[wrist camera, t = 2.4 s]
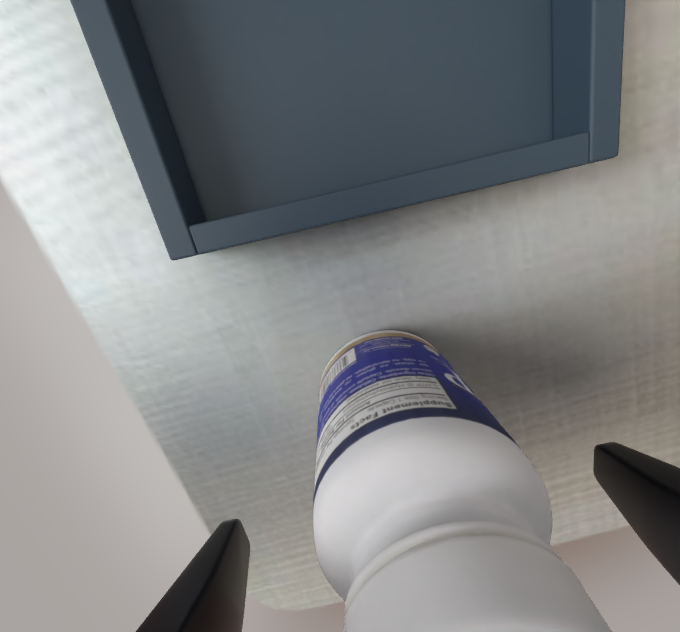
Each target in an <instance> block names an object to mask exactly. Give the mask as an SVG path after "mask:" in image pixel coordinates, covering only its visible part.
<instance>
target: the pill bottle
mask: <svg viewBox="0 0 680 632" xmlns="http://www.w3.org/2000/svg"><path fill="white" fill-rule="evenodd" d="M551 532H552V511H551V505H550V499H549V496H548V493H547V490H546V488H545V485H544V483H543V481H542V479H541V477H540V475H539V473H538V472H537V470H536V468H535V467H534V465H533V464H532V463H531V461H530V460H529V459H528V457H527V456H526V455H525V454H524V452H523V451H522V450H521V449H520V447H519V446H518V445H517V444H516V442H515V441H514V440H513V439H512V437H511V436H510V435H509V434H508V433H507V432H506V431H505V429H504V428H503V427H502V426H501V425H500V424H499V422H498V421H497V420H496V419H495V418H494V417H493V415H492V414H491V413H490V412H489V411H488V409H487V408H486V407H485V406H484V405H483V403H482V402H481V401H480V400H479V399H478V398H477V397H476V395H475V394H474V393H473V392H472V390H471V389H470V388H469V387H468V386H467V385H466V383H465V382H464V381H463V380H462V378H461V377H460V376H459V375H458V374H457V373H456V371H455V370H454V369H453V368H452V367H451V366H450V364H449V363H448V362H447V361H446V360H445V358H444V357H443V356H442V355H441V354H440V353H439V352H438V350H437V349H436V348H435V347H433V346H432V345H431V344H430V343H428V342H427V341H425V340H424V339H422V338H420V337H418V336H416V335H413V334H410V333H407V332H403V331H396V330H383V331H376V332H371V333H367V334H364V335H361V336H359V337H357V338H355V339H353V340H351V341H350V342H348V343H347V344H345V345H344V346H343V347H342V348H340V349H339V350H338V351H337V352H336V353H335V355H334V356H333V357H332V358H331V360H330V361H329V363H328V364H327V366H326V368H325V370H324V372H323V375H322V378H321V382H320V388H319V405H318V432H317V453H316V468H315V484H314V498H313V534H314V543H315V549H316V554H317V557H318V560H319V563H320V566H321V568H322V571H323V573H324V574H325V576H326V578H327V580H328V582H329V583H330V584H331V586H332V587H333V589H334V590H335V591H336V592H337V593H338V595H339V596H340V597H341V598H342V599H343V600H344V601H346V604H345V623H344V632H612V631H611V630H610V628H609V627H608V625H607V623H606V622H605V620H604V619H603V617H602V616H601V614H600V613H599V611H598V609H597V608H596V607H595V605H594V603H593V602H592V600H591V599H590V597H589V596H588V594H587V593H586V591H585V589H584V588H583V586H582V584H581V582H580V581H579V579H578V578H577V576H576V575H575V573H574V572H573V571H572V570H571V569H570V568H569V567H568V566H567V565H566V564H565V563H564V562H563V560H562V559H561V557H560V556H559V555H558V554H557V552H556V551H555V550H554V549H553V548H552V547H551V546H550V545H549V544H550V539H551Z"/></svg>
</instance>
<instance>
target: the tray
mask: <svg viewBox="0 0 680 632" xmlns="http://www.w3.org/2000/svg"><path fill="white" fill-rule="evenodd" d="M71 3H72V6H73V8H74V11H75V13H76V16H77V19H78V21H79V24H80V26H81V29H82V31H83V34H84V37H85V39H86V42H87V44H88V47H89V50H90V52H91V55H92V57H93V60H94V62H95V65H96V68H97V70H98V73H99V75H100V78H101V81H102V83H103V86H104V88H105V91H106V93H107V96H108V99H109V101H110V104H111V106H112V109H113V111H114V114H115V117H116V119H117V122H118V124H119V127H120V130H121V132H122V135H123V137H124V140H125V142H126V145H127V148H128V150H129V153H130V155H131V158H132V161H133V163H134V166H135V168H136V171H137V173H138V176H139V179H140V181H141V184H142V186H143V189H144V192H145V194H146V197H147V199H148V202H149V204H150V207H151V210H152V212H153V215H154V217H155V220H156V222H157V225H158V228H159V230H160V233H161V235H162V238H163V241H164V243H165V246H166V248H167V251H168V253H169V256H170V259H171V260H178V259H182V258H187V257H191V256H195V255H199V254H204V253H208V252H212V251H217V250H221V249H225V248H229V247H234V246H238V245H242V244H247V243H251V242H255V241H259V240H264V239H268V238H272V237H277V236H281V235H285V234H289V233H294V232H298V231H302V230H307V229H311V228H315V227H319V226H324V225H328V224H332V223H337V222H341V221H345V220H349V219H354V218H358V217H362V216H367V215H371V214H375V213H379V212H384V211H388V210H392V209H397V208H401V207H405V206H409V205H414V204H418V203H422V202H427V201H431V200H435V199H439V198H444V197H448V196H452V195H457V194H461V193H465V192H469V191H474V190H478V189H482V188H487V187H491V186H495V185H499V184H504V183H508V182H512V181H517V180H521V179H525V178H529V177H534V176H538V175H542V174H547V173H551V172H555V171H559V170H564V169H568V168H572V167H577V166H581V165H585V164H589V163H594V162H598V161H602V160H606V159H611V158H614V157H616V156H617V155H618V146H619V124H620V103H621V82H622V60H623V39H624V18H625V0H71Z"/></svg>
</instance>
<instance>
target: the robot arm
mask: <svg viewBox="0 0 680 632" xmlns="http://www.w3.org/2000/svg"><path fill="white" fill-rule="evenodd" d="M594 475H595V477H596V479H597V481H598V482H599V484H600V485H601V486H602V488H603V489H604V490H605V492H606V493H607V495H608V496H609V497H610V499H611V500H612V501H613V503H614V504H615V505H616V507H617V508H618V509H619V511H620V512H621V513H622V515H623V516H624V517H625V519H626V520H627V521H628V523H629V524H630V525H631V527H632V528H633V529H634V531H635V532H636V533H637V535H638V536H639V537H640V539H641V540H642V541H643V542H644V544H645V545H646V546H647V548H648V549H649V550H650V551H651V552H652V554H653V555H654V556H655V557H656V558H657V559H658V561H659V562H660V563H661V564H662V565H663V567H664V568H665V569H666V570H667V571H668V572H669V573H670V574H671V575H672V577H673V578H674V579H675V580H676V581H677V583H678V584H679V585H680V468H678V467H676V466H673V465H671V464H668V463H666V462H663V461H661V460H658V459H656V458H653V457H651V456H648V455H646V454H643V453H641V452H638V451H636V450H633V449H631V448H628V447H626V446H623V445H621V444H618V443H615V442H609V443H604V444H599V445H597V446H596V447H595V449H594ZM249 557H250V543H249V540H248V537H247V535H246V532H245V530H244V528H243V525H242V523H241V521H240V520H239V519H232V520H228V521H224V522H222V523H221V524H220V525H219V526H218V528H217V529H216V530H215V531H214V533H213V534H212V535H211V537H210V538H209V539H208V540H207V542H206V543H205V544H204V546H203V547H202V548H201V549H200V551H199V552H198V553H197V554H196V556H195V557H194V558H193V559H192V561H191V562H190V563H189V565H188V566H187V567H186V568H185V570H184V571H183V572H182V573H181V575H180V576H179V577H178V579H177V580H176V581H175V582H174V584H173V585H172V586H171V588H170V589H169V590H168V591H167V593H166V594H165V595H164V597H163V598H162V599H161V600H160V602H159V603H158V604H157V606H156V607H155V608H154V609H153V610H152V612H151V613H150V614H149V616H148V617H147V618H146V620H145V621H144V622H143V623H142V624H141V626H140V627H139V628H138V630H137V631H136V632H242V625H243V617H244V616H243V615H244V607H245V597H246V587H247V577H248V567H249Z"/></svg>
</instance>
